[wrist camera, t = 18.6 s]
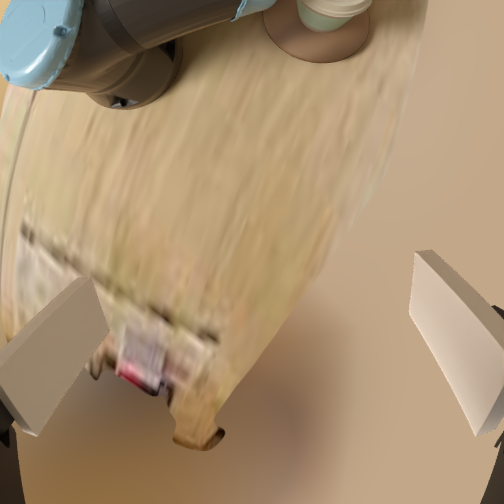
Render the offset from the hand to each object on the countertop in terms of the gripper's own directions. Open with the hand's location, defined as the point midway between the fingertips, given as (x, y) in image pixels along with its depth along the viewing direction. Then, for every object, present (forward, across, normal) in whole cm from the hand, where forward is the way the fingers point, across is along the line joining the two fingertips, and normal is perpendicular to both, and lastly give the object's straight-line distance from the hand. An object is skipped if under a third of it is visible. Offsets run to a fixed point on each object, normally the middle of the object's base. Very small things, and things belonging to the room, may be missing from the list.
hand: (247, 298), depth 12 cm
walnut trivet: (+32, +9, +22) cm, 40 cm away
